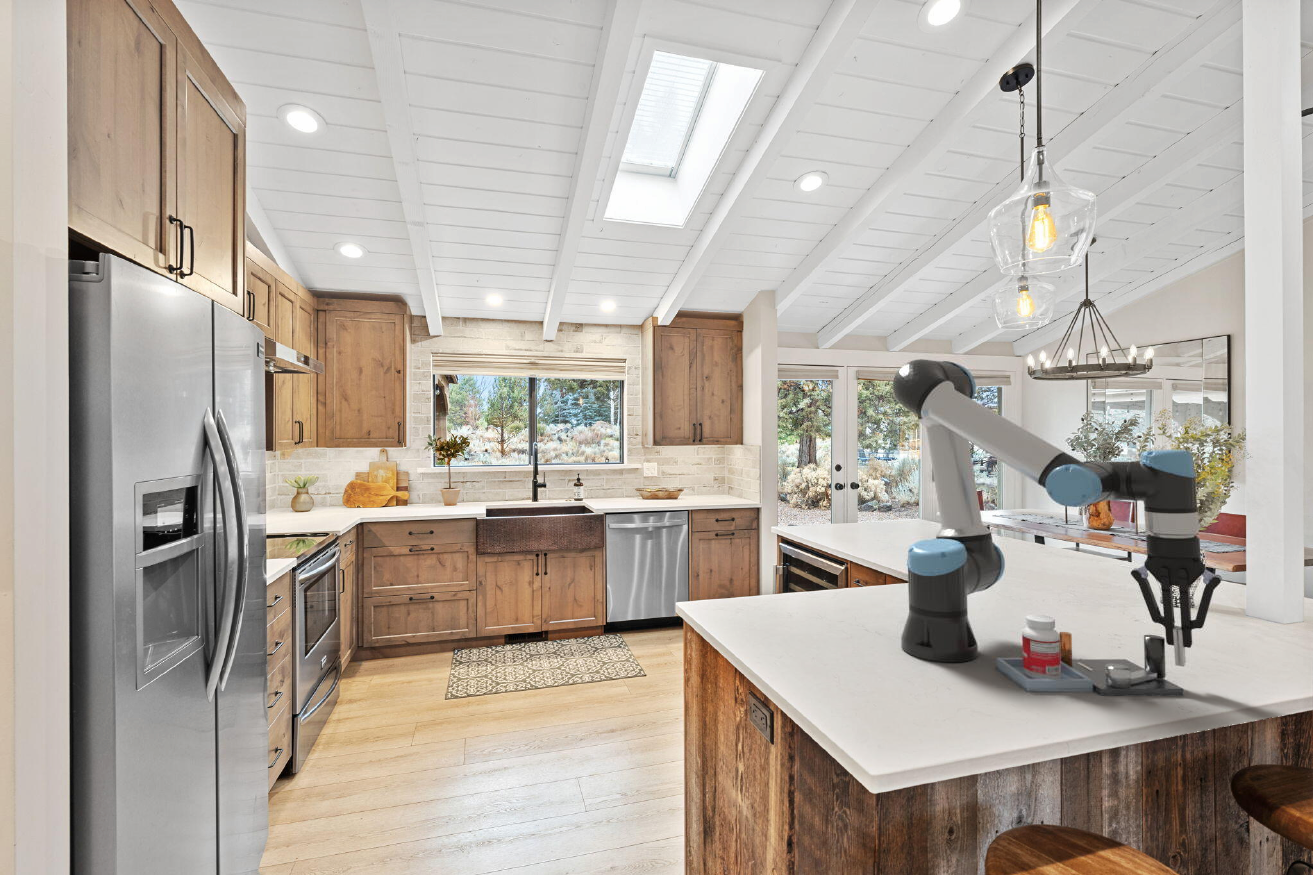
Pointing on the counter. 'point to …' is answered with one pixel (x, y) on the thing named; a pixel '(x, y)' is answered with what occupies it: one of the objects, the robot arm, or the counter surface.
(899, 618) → the counter surface
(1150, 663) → the crank
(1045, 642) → the pill bottle
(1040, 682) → the tray
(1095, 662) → the dial plate
